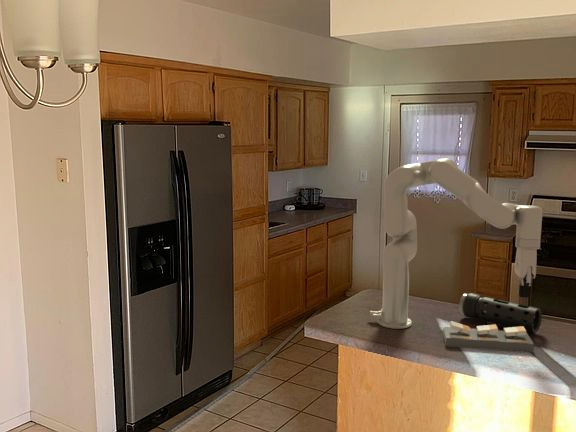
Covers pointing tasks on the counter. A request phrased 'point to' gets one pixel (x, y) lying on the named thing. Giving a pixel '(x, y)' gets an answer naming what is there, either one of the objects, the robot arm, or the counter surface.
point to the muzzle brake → (500, 312)
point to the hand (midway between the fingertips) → (524, 296)
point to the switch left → (460, 327)
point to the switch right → (515, 331)
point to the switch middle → (487, 329)
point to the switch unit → (487, 340)
